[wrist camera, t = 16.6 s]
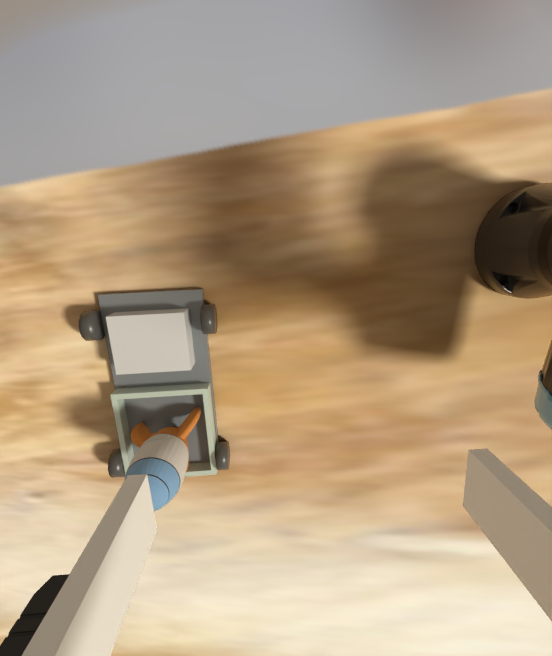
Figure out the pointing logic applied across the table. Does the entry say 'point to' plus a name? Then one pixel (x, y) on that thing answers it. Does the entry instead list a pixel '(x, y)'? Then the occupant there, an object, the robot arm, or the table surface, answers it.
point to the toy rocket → (162, 457)
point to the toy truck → (160, 370)
